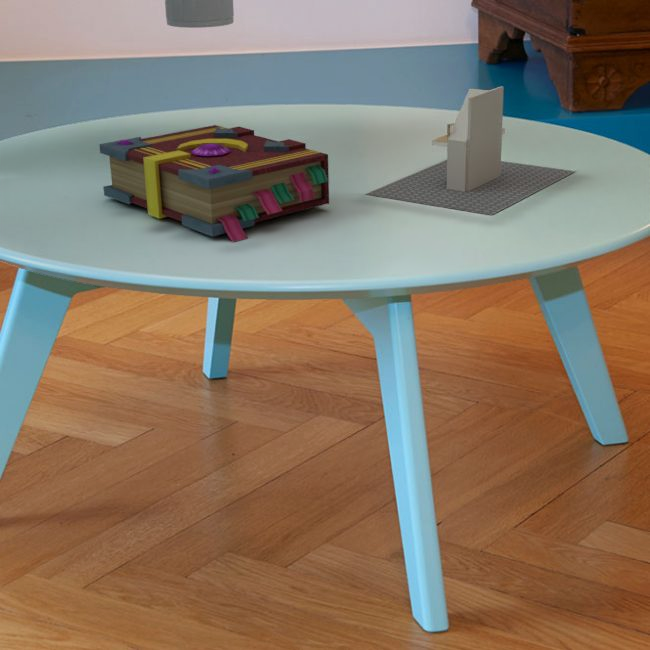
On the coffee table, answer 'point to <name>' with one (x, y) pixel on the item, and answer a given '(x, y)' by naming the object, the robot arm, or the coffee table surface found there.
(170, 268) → the coffee table surface
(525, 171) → the architectural model
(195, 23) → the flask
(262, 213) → the decorative book
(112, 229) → the coffee table surface
